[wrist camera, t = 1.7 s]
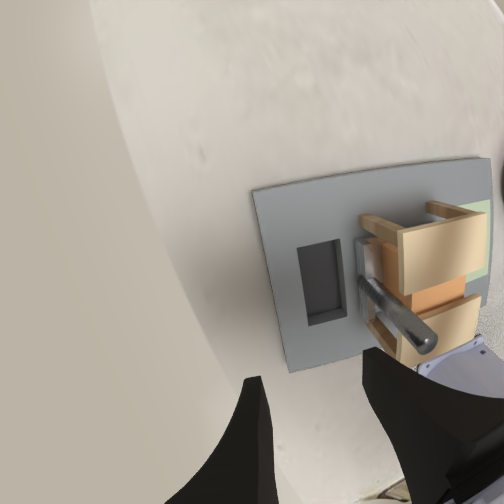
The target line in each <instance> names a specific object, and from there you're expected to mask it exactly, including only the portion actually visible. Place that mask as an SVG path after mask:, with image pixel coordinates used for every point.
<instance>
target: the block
mask: <svg viewBox="0 0 504 504" xmlns="http://www.w3.org/2000/svg"><path fill="white" fill-rule="evenodd" d="M381 246H382V262H383V285H384V286H385V287H386V288H388V289H389V290H390V291H391V292H392V293H393V294H394V295H395V296H396V297H398V298H399V299H400V300H401V301H402V302H403V303H404V304H405V305H406V306H407V307H408V308H410V309H411V310H412V311H413V312H414V313H415V314H416V315H417V316H418V315H421V314H424V313H427V312H429V311H432V310H435V309H437V308H440V307H442V306H445V305H447V304H450V303H452V302H455V301H457V300H460V299H462V298H464V292H465V282H466V275H464V276H461V277H458V278H456V279H453V280H450V281H447V282H445V283H442V284H439V285H436V286H433V287H430V288H428V289H425V290H422V291H419V292H416V293H413V294H409V295H406V296H403V295H402V294H401V293H400V292H399V263H398V248H397V247H396V246H394V245H392V244H390V243H389V242H388V243H384V244H381Z"/></svg>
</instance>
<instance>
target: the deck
mask: <svg viewBox="0 0 504 504" xmlns="http://www.w3.org/2000/svg"><path fill="white" fill-rule="evenodd" d="M252 194H253V199H254V204H255V208H256V213H257V218H258V223H259V228H260V232H261V237H262V242H263V247H264V252H265V257H266V261H267V266H268V271H269V276H270V281H271V286H272V291H273V296H274V301H275V306H276V311H277V316H278V321H279V326H280V331H281V336H282V341H283V347H284V352H285V357H286V362H287V366H288V370H289V373H292V372H297V371H301V370H305V369H309V368H313V367H317V366H321V365H325V364H329V363H333V362H336V361H340V360H343V359H347V358H350V357H354V356H357V355H360V354H363V350H365V349H369V348H372V347H375V346H376V347H378V348H382V346H381V345H380V344H379V342H378V341H377V339H376V338H375V337H374V335H373V334H372V333H371V331H370V330H369V329H368V327H367V326H366V320H365V319H364V318H363V316H362V315H361V314H360V302H359V286H358V285H357V278H358V272H357V260H356V250H355V239H359V238H364V237H368V236H373V235H374V234H372V233H371V232H369V231H367V230H365V229H363V228H361V227H360V225H359V216H358V215H361V214H366V213H371V214H373V215H376V216H378V217H381V218H383V219H385V220H388V221H390V222H393V223H395V224H397V225H400V226H402V227H404V228H408V227H412V226H417V225H421V224H425V223H430V222H434V221H441V220H446V219H445V218H442V217H439V216H436V215H433V214H430V213H427V211H426V202H427V201H433V200H435V201H439V202H443V203H447V204H450V205H454V206H458V207H462V208H465V209H469V210H472V211H476V212H479V211H481V212H485V213H487V241H486V259H485V267H484V268H482V269H479V270H477V271H474V272H472V273H469V274H466V282H465V292H464V297H467V296H469V295H471V294H474V293H478V294H479V295H481V296H482V297H481V303H480V308H481V307H483V306H485V305H486V302H487V296H488V288H489V281H490V271H491V261H492V246H493V186H492V172H491V161H490V158H468V159H456V160H445V161H435V162H426V163H417V164H409V165H401V166H393V167H385V168H378V169H371V170H364V171H357V172H351V173H345V174H338V175H332V176H326V177H321V178H315V179H309V180H304V181H298V182H293V183H288V184H282V185H277V186H272V187H267V188H262V189H258V190H253V191H252ZM375 314H376V315H377V317H378V318H379V319H380V320H381V321H382V322H383V324H384V325H385V326H386V327H387V328H388V330H389V331H390V332H391V333H392V334H393V336H394V337H395V338H396V339H397V336H398V329H397V328H396V327H395V326H394V325H393V323H392V322H391V321H390V320H389V319H388V318H387V317H386V316H385V315H384V313H383V312H382V311H379V312H375Z"/></svg>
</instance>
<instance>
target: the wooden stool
mask: <svg viewBox="0 0 504 504" xmlns="http://www.w3.org/2000/svg"><path fill="white" fill-rule="evenodd" d="M426 211H427V213H430V214H433V215H436V216H439V217H442V218H445V219H446V220H441V221H437V222H433V223H429V224H424V225H420V226H416V227H411V228H404V227H402V226H400V225H397V224H395V223H393V222H390V221H388V220H385V219H383V218H381V217H378V216H376V215H373V214H371V213H366V214H361V215H358V216H359V225H360V227H361V228H363V229H365V230H367V231H369V232H371V233H372V234H374V235H376V236H378V237H380V238H381V239H383V240H385V241H387V242H389V243H390V244H392V245H394V246H396V247H397V248H398V263H399V292H400V293H401V294H402V295H403V296H406V295H409V294H413V293H416V292H419V291H422V290H425V289H428V288H430V287H433V286H436V285H439V284H442V283H445V282H447V281H450V280H453V279H456V278H458V277H461V276H464V275H466V274H469V273H472V272H474V271H477V270H479V269H482V268H484V267H485V259H486V241H487V213H485V212H481V211H479V212H476V211H472V210H469V209H465V208H462V207H458V206H454V205H450V204H447V203H443V202H439V201H435V200H433V201H427V202H426ZM481 297H482V296H481V295H479V294H478V293H474V294H471V295H469V296H467V297H464V298H462V299H460V300H457V301H455V302H452V303H450V304H447V305H445V306H442V307H440V308H437V309H435V310H432V311H429V312H427V313H424V314H421V315H418V317H419V318H420V319H421V320H422V321H423V322H424V323H425V324H427V325H428V326H429V327H430V328H431V329H432V330H433V331H434V332H435V333H436V334H437V335H438V342H437V345H436V346H435V348H434V349H433V350H432V351H431V352H430V353H428V354H426V355H420V354H419V353H418V352H417V351H416V350H415V348H414V347H413V346H412V345H411V344H410V343H409V342H408V340H407V339H406V338H405V337H404V336H403V335H402V334H401V332H400V331H399V330H398V336H397V339H396V338H395V337H394V336H393V334H392V333H391V332H390V331H389V330H388V328H387V327H386V326H385V325H384V324H383V322H382V321H381V320H380V319H379V318H378V317H377V315H376V314H375V321H373V322H369V323H367V321H366V326H367V327H368V329H369V330H370V331H371V333H372V334H373V335H374V337H375V338H376V339H377V341H378V342H379V344H380V345H381V346H382V348H383V349H384V350H385V352H386V353H387V354H388V355H390V356H391V357H393V358H394V359H396V360H397V361H399V362H400V363H402V364H403V365H405V366H407V367H408V368H410V367H413V366H415V365H418V364H420V363H423V362H425V361H427V360H430V359H432V358H434V357H437V356H439V355H441V354H443V353H445V352H448V351H450V350H452V349H454V348H456V347H458V346H460V345H462V344H464V343H466V342H468V341H470V340H472V339H474V336H475V331H476V326H477V321H478V316H479V310H480V303H481Z"/></svg>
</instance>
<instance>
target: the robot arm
mask: <svg viewBox="0 0 504 504" xmlns="http://www.w3.org/2000/svg"><path fill="white" fill-rule="evenodd" d="M483 340H484V336H483V335H479V336H477V337H476V338H474V339H472V340H470V341H468V342H466V343H464V344H462V345H460V346H458V347H456V348H454V349H452V350H450V351H448V352H445V353H443V354H441V355H439V356H437V357H434V358H432V359H430V360H427V361H425V362H423V363H421V364H420V365H419V367H418V373H417V372H415V371H413V370H412V369H410V368H408V367H407V366H405V365H403V364H402V363H400V362H399V361H397V360H396V359H394V358H393V357H391V356H390V355H388V354H387V353H385V352H384V351H382V350H381V349H379V348H378V347H376V346H375V347H372V348H369V349H365V350H363V375H362V385H363V387H364V390H365V393H366V395H367V398H368V400H369V403H370V404H371V406H372V408H373V410H374V412H375V413H376V415H377V417H378V419H379V421H380V422H381V424H382V426H383V428H384V430H385V431H386V433H387V435H388V437H389V439H390V441H391V443H392V445H393V447H394V449H395V452H396V455H397V457H398V460H399V462H400V465H401V468H402V471H403V474H404V477H405V480H406V483H407V487H408V490H409V493H410V497H411V501H412V504H504V361H503V360H502V359H501V358H499V357H498V356H497V355H496V354H495V353H494V352H493V351H492V350H491V349H489V348H488V347H487V346H486V345H485V344H484V343H483ZM165 504H279V501H278V496H277V489H276V482H275V473H274V450H273V427H272V421H271V415H270V409H269V405H268V401H267V398H266V394H265V390H264V386H263V383H262V379H261V376H256V377H250V378H246V379H245V380H244V382H243V387H242V391H241V394H240V397H239V400H238V403H237V406H236V408H235V411H234V413H233V416H232V418H231V420H230V422H229V424H228V427H227V429H226V430H225V432H224V435H223V436H222V438H221V440H220V441H219V443H218V445H217V446H216V448H215V449H214V451H213V453H212V454H211V455H210V457H209V458H208V459H207V461H206V462H205V464H204V465H203V466H202V467H201V468H200V470H199V471H198V472H197V473H196V474H195V475H194V476H193V477H192V478H191V480H190V481H189V482H188V483H187V484H186V485H185V486H184V487H183V488H182V489H180V490H179V491H178V492H177V493H176V494H175V495H173V496H172V497H171V498H170V499H169V500H167V501H166V502H165Z"/></svg>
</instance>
